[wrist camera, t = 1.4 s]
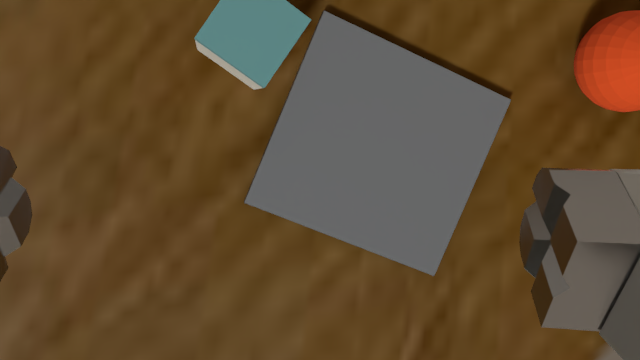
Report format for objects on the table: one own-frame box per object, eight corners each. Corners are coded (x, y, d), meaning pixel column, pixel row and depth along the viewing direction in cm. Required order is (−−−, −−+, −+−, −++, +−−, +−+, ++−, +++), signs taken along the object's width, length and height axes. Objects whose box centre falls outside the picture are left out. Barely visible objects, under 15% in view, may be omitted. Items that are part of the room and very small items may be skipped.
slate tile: (243, 201, 41) (244, 202, 41) (322, 11, 40) (324, 10, 40) (431, 273, 44) (434, 275, 44) (507, 99, 44) (511, 99, 43)
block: (197, 49, 39) (194, 37, 31) (236, -7, 39) (242, -33, 31) (254, 89, 40) (264, 87, 32) (291, 34, 40) (311, 19, 32)
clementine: (661, 76, 46) (742, 72, 39) (599, 140, 45) (669, 147, 39) (601, -3, 44) (675, -22, 37) (536, 62, 44) (598, 56, 37)
